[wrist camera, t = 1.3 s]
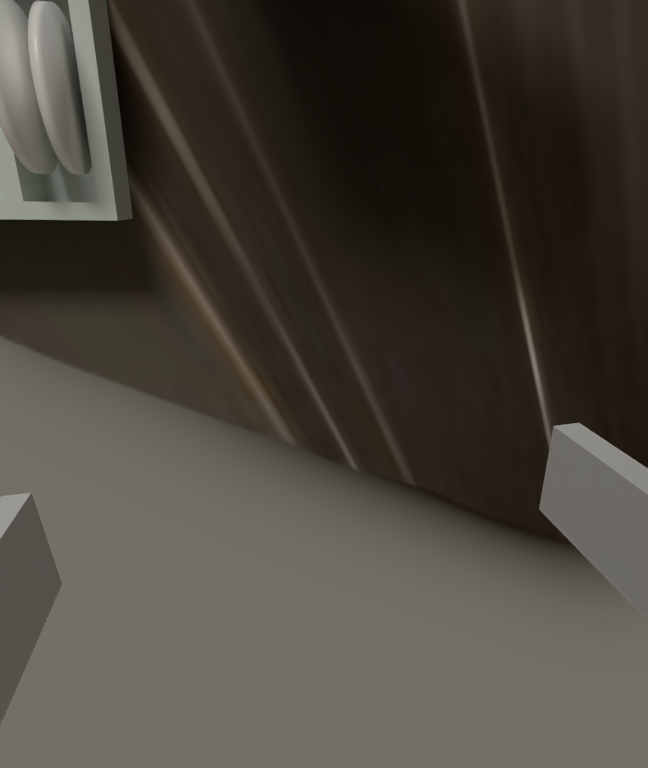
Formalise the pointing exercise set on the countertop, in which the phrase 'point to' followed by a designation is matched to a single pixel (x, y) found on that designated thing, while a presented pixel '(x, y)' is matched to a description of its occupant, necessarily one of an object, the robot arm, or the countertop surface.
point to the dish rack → (60, 114)
